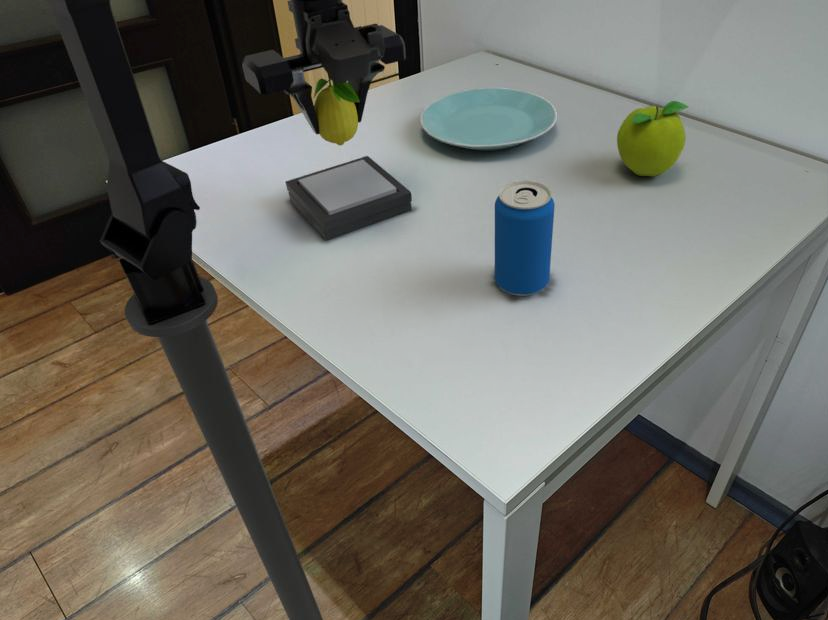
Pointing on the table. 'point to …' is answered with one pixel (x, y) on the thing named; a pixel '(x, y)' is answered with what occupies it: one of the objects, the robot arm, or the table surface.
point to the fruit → (652, 139)
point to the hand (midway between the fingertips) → (337, 127)
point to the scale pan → (346, 187)
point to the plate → (488, 118)
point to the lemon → (336, 111)
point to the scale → (353, 216)
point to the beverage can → (523, 237)
